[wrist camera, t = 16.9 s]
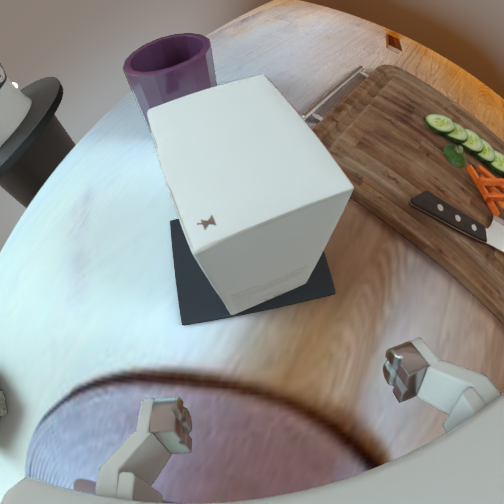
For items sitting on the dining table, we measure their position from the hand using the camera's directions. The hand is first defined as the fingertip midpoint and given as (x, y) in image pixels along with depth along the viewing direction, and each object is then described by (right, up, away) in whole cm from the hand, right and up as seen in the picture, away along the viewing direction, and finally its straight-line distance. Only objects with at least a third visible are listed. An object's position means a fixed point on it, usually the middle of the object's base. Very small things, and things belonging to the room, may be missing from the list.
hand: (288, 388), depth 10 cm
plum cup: (-9, +21, +20) cm, 30 cm away
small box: (-2, +5, +13) cm, 14 cm away
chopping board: (+26, +12, +15) cm, 33 cm away
